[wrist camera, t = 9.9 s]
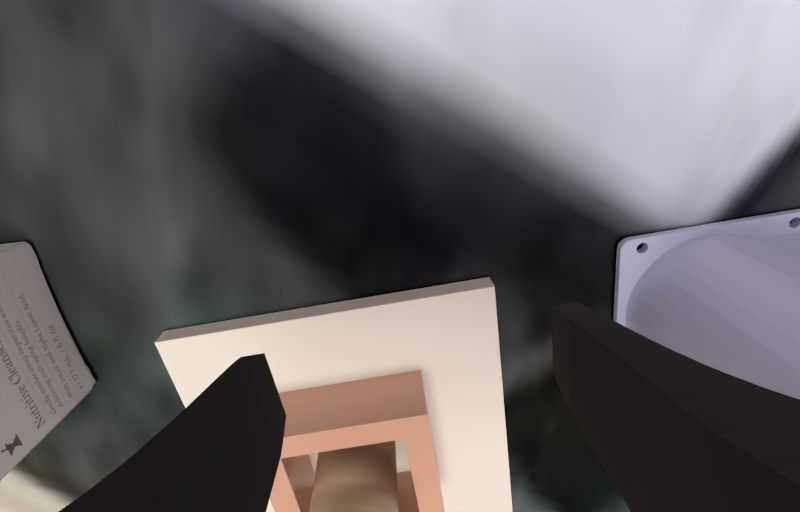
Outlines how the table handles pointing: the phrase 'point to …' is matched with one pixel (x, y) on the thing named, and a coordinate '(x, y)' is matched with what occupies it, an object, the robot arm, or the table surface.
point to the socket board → (375, 389)
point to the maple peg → (356, 480)
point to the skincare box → (33, 358)
